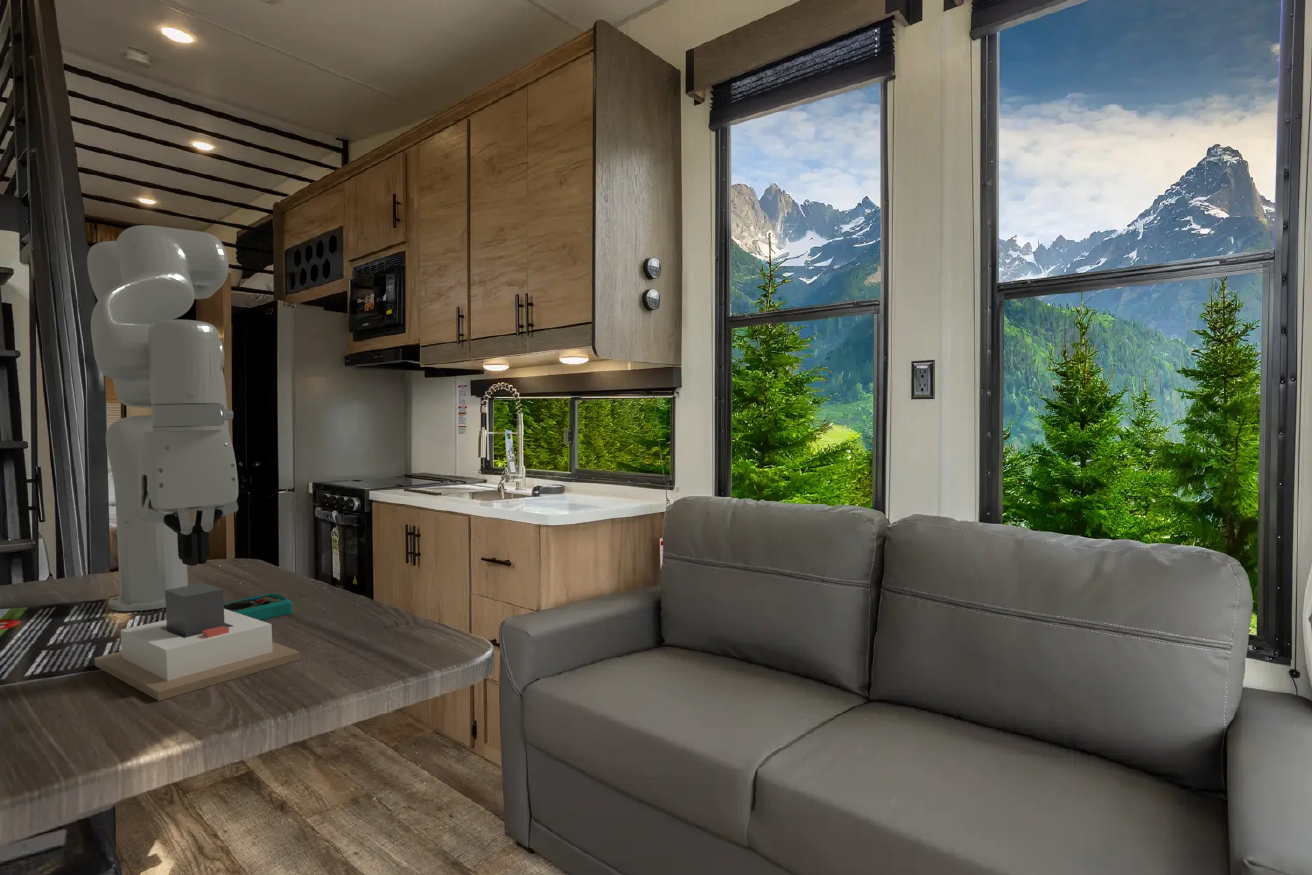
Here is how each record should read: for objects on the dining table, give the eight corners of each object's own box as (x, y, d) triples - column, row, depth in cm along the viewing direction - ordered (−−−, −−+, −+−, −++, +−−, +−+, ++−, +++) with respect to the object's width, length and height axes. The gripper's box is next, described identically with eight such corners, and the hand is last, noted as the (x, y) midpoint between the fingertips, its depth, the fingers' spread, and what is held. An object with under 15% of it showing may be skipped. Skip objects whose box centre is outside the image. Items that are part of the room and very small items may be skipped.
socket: (94, 665, 93) (92, 625, 92) (228, 632, 106) (226, 597, 105) (158, 700, 81) (156, 654, 81) (300, 659, 94) (298, 619, 94)
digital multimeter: (296, 615, 116) (296, 596, 116) (193, 639, 104) (192, 619, 104) (275, 607, 120) (274, 590, 120) (173, 630, 109) (172, 611, 109)
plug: (167, 653, 93) (165, 589, 93) (205, 644, 97) (202, 582, 96) (187, 662, 90) (184, 596, 89) (225, 652, 93) (223, 589, 93)
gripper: (236, 418, 100) (241, 551, 101) (106, 421, 88) (113, 571, 89) (263, 417, 96) (268, 556, 96) (130, 420, 84) (137, 578, 84)
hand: (194, 563), depth 93 cm, fingers closed
